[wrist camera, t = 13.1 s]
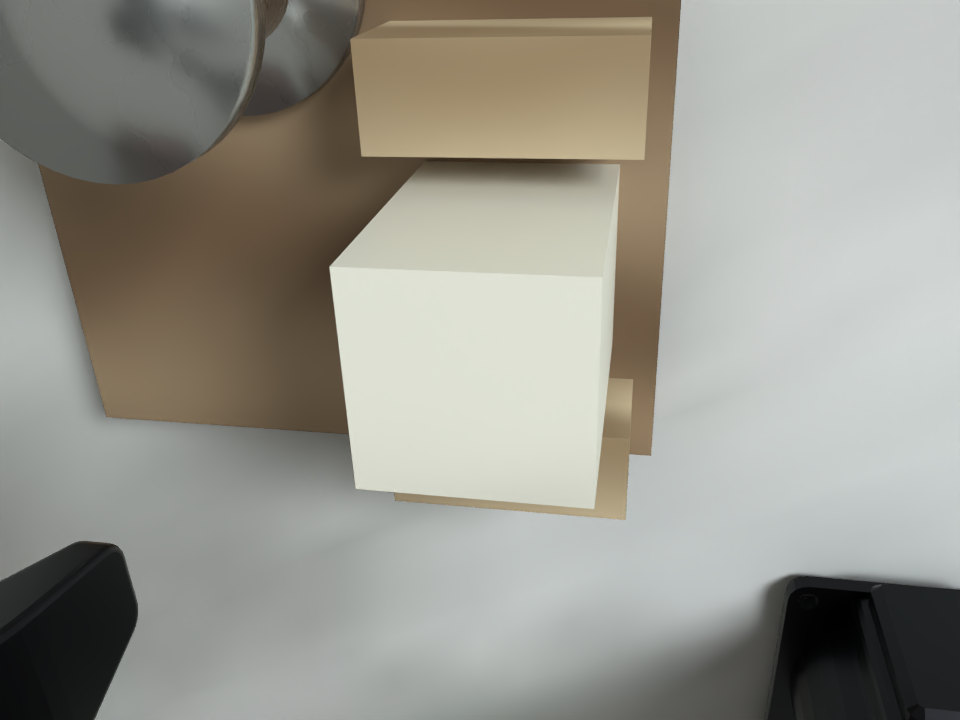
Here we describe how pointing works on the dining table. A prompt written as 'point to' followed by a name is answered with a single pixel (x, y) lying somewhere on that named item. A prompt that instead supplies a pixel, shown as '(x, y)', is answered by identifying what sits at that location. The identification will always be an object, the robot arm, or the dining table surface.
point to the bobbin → (156, 76)
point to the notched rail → (513, 134)
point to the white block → (482, 332)
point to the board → (311, 248)
